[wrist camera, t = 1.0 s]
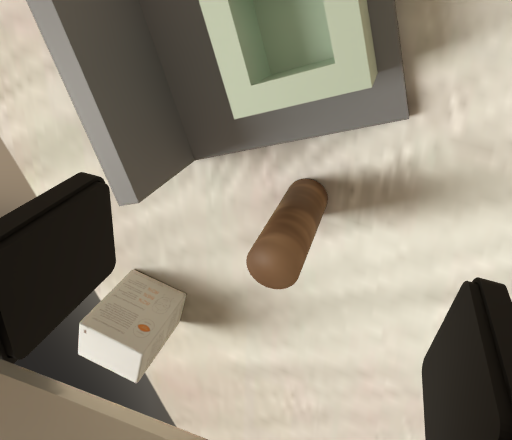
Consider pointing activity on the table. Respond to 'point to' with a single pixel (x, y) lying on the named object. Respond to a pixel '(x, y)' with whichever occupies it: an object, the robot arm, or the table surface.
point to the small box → (131, 325)
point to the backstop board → (187, 88)
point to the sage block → (289, 50)
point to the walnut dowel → (288, 235)
